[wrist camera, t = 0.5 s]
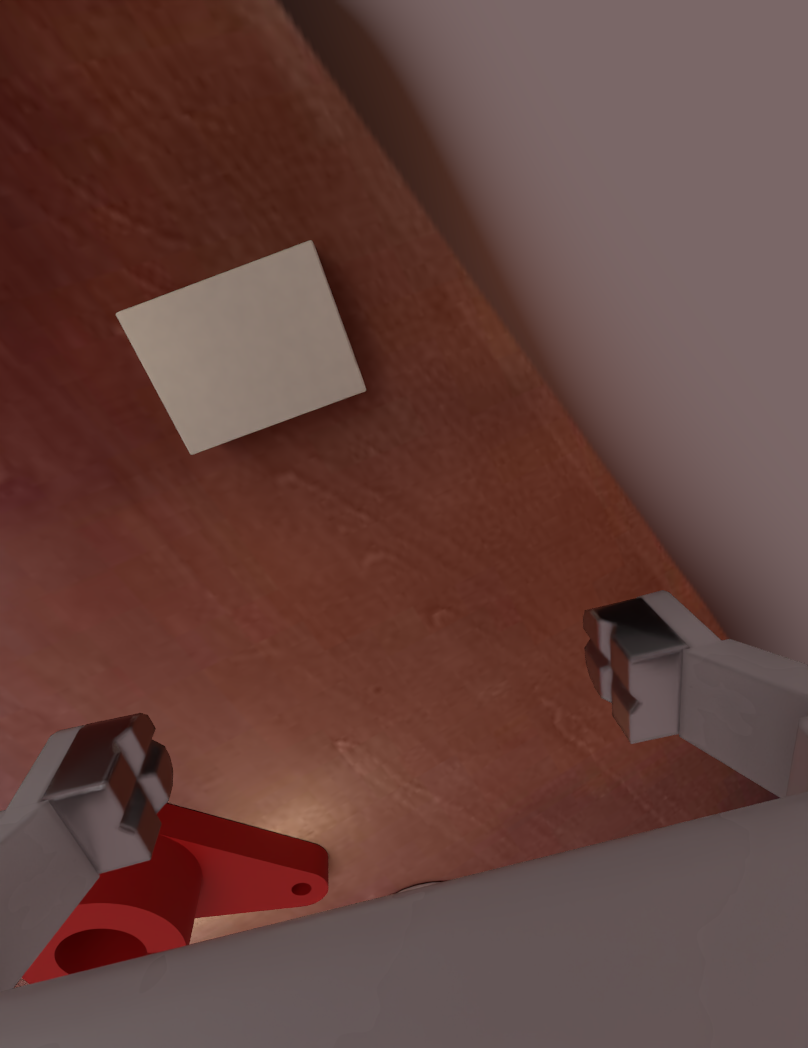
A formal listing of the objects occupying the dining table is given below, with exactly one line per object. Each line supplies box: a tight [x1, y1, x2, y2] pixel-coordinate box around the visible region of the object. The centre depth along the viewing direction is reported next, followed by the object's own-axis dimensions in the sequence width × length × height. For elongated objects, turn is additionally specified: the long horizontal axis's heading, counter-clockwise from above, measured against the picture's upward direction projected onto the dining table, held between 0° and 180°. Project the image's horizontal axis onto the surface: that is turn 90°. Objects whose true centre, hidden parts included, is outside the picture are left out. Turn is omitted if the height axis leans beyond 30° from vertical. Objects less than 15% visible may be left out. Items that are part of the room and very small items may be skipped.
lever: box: [22, 803, 328, 984], centre depth 36 cm, size 18×9×7 cm, turn 74°
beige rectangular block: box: [116, 240, 366, 455], centre depth 24 cm, size 6×8×4 cm
